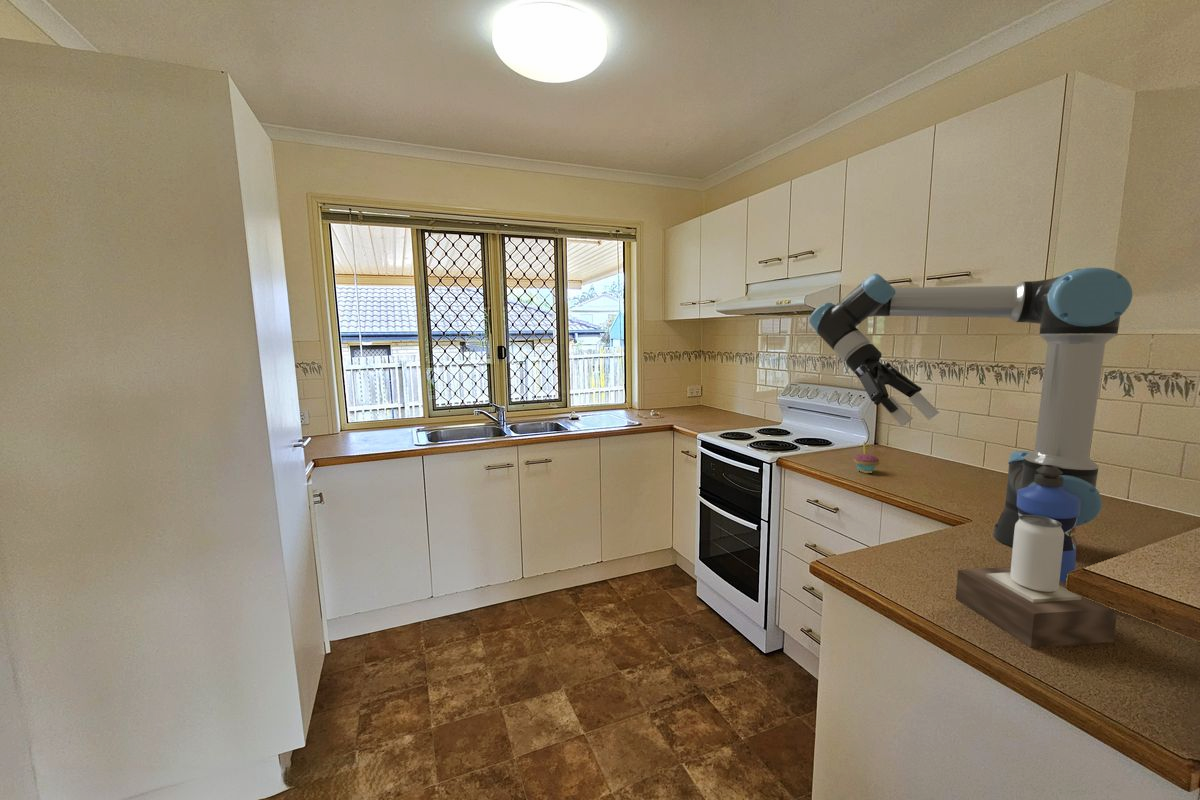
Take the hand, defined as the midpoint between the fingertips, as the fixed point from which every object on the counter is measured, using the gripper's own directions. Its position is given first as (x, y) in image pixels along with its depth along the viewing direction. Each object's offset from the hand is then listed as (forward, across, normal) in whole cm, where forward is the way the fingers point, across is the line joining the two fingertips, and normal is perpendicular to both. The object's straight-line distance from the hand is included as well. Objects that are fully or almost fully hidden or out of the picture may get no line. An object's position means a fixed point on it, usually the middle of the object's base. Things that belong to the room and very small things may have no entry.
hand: (921, 419), depth 108 cm
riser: (+40, +12, -6) cm, 42 cm away
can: (+36, +11, -2) cm, 37 cm away
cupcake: (-6, -63, -53) cm, 82 cm away
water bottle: (+38, -7, -8) cm, 40 cm away
